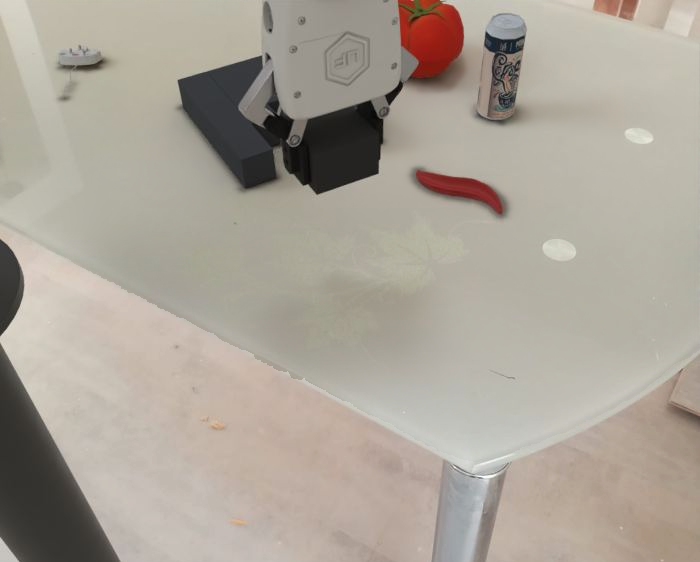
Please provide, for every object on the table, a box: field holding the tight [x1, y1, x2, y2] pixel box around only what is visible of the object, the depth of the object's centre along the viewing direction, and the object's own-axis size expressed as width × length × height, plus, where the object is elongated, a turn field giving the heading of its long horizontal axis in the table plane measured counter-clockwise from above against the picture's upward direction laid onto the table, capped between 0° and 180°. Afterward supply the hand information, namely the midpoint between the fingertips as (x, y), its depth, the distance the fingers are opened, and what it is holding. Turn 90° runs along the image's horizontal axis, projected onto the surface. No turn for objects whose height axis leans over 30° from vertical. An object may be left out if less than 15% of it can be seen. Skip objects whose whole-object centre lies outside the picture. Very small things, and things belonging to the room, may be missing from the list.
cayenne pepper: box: [415, 169, 503, 215], centre depth 88 cm, size 12×5×2 cm, turn 42°
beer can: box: [476, 12, 528, 121], centre depth 94 cm, size 5×5×12 cm
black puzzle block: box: [303, 106, 380, 196], centre depth 66 cm, size 6×7×4 cm
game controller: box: [57, 44, 103, 99], centre depth 106 cm, size 6×12×3 cm, turn 16°
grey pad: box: [177, 54, 361, 189], centre depth 96 cm, size 18×20×4 cm
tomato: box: [397, 0, 465, 79], centre depth 103 cm, size 14×13×9 cm
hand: (334, 163), depth 67 cm, fingers closed on black puzzle block, 6 cm apart
